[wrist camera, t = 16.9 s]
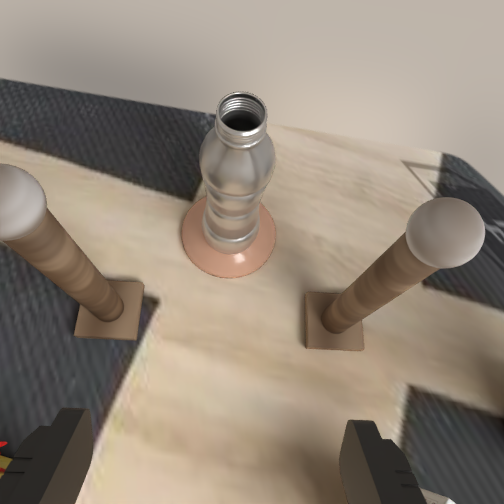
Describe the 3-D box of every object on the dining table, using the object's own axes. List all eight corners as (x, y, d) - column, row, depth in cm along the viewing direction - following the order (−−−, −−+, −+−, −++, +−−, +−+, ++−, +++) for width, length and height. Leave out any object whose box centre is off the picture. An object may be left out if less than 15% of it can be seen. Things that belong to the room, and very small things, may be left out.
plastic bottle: (194, 252, 44) (182, 138, 25) (211, 202, 47) (210, 66, 28) (249, 266, 44) (277, 162, 25) (262, 215, 47) (296, 88, 28)
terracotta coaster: (291, 223, 47) (292, 220, 47) (243, 296, 43) (243, 294, 43) (216, 180, 49) (216, 176, 48) (163, 245, 45) (162, 243, 44)
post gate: (356, 297, 44) (506, 172, 21) (360, 351, 42) (534, 274, 19) (89, 282, 42) (-62, 126, 19) (77, 337, 40) (-109, 233, 17)
